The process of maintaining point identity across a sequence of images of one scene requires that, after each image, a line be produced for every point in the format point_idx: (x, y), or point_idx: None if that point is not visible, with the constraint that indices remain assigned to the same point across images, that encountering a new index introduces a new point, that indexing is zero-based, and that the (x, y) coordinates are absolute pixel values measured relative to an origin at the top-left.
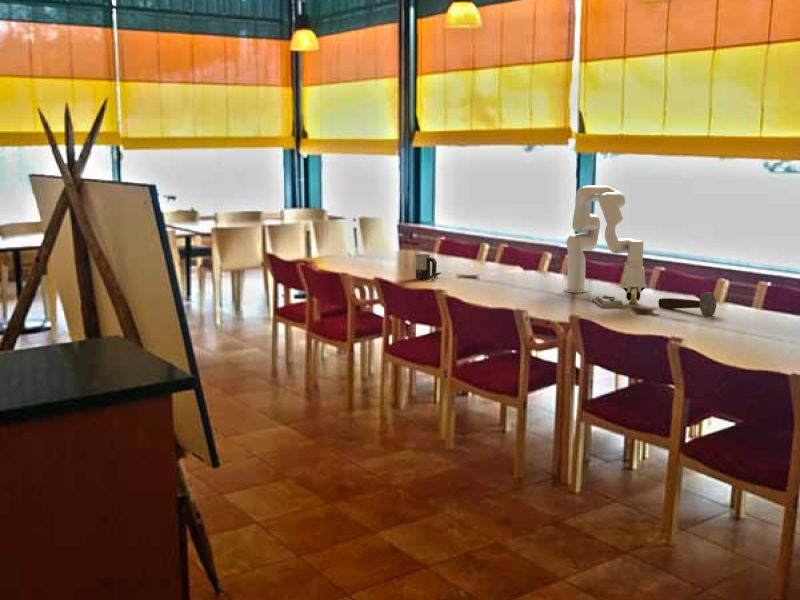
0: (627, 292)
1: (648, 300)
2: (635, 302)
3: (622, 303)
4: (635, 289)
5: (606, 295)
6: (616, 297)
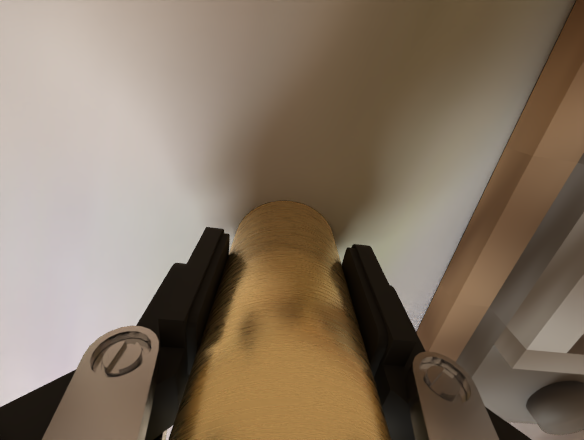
0: (453, 360)
1: (63, 353)
2: (268, 211)
3: (572, 90)
4: (268, 417)
5: (546, 427)
6: (567, 307)
